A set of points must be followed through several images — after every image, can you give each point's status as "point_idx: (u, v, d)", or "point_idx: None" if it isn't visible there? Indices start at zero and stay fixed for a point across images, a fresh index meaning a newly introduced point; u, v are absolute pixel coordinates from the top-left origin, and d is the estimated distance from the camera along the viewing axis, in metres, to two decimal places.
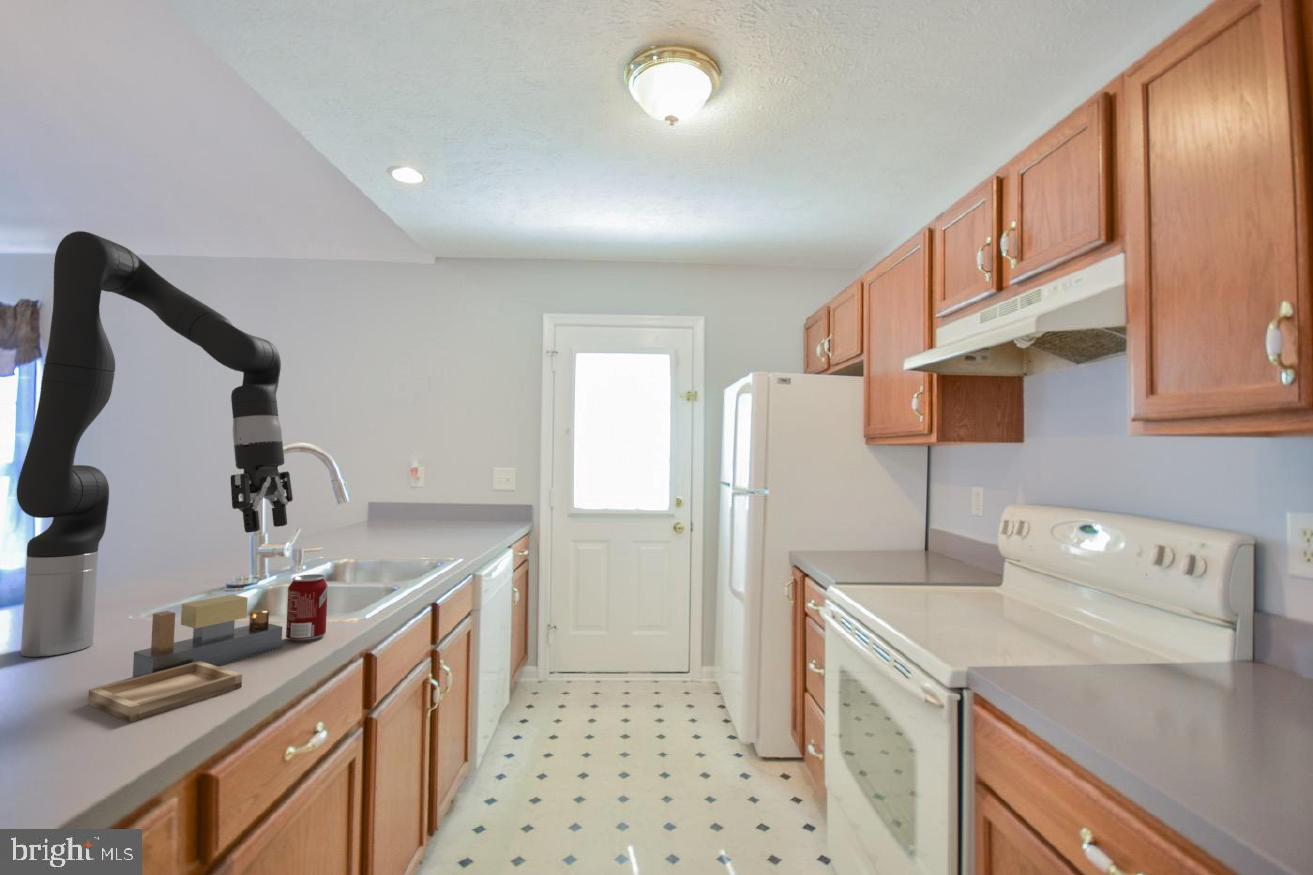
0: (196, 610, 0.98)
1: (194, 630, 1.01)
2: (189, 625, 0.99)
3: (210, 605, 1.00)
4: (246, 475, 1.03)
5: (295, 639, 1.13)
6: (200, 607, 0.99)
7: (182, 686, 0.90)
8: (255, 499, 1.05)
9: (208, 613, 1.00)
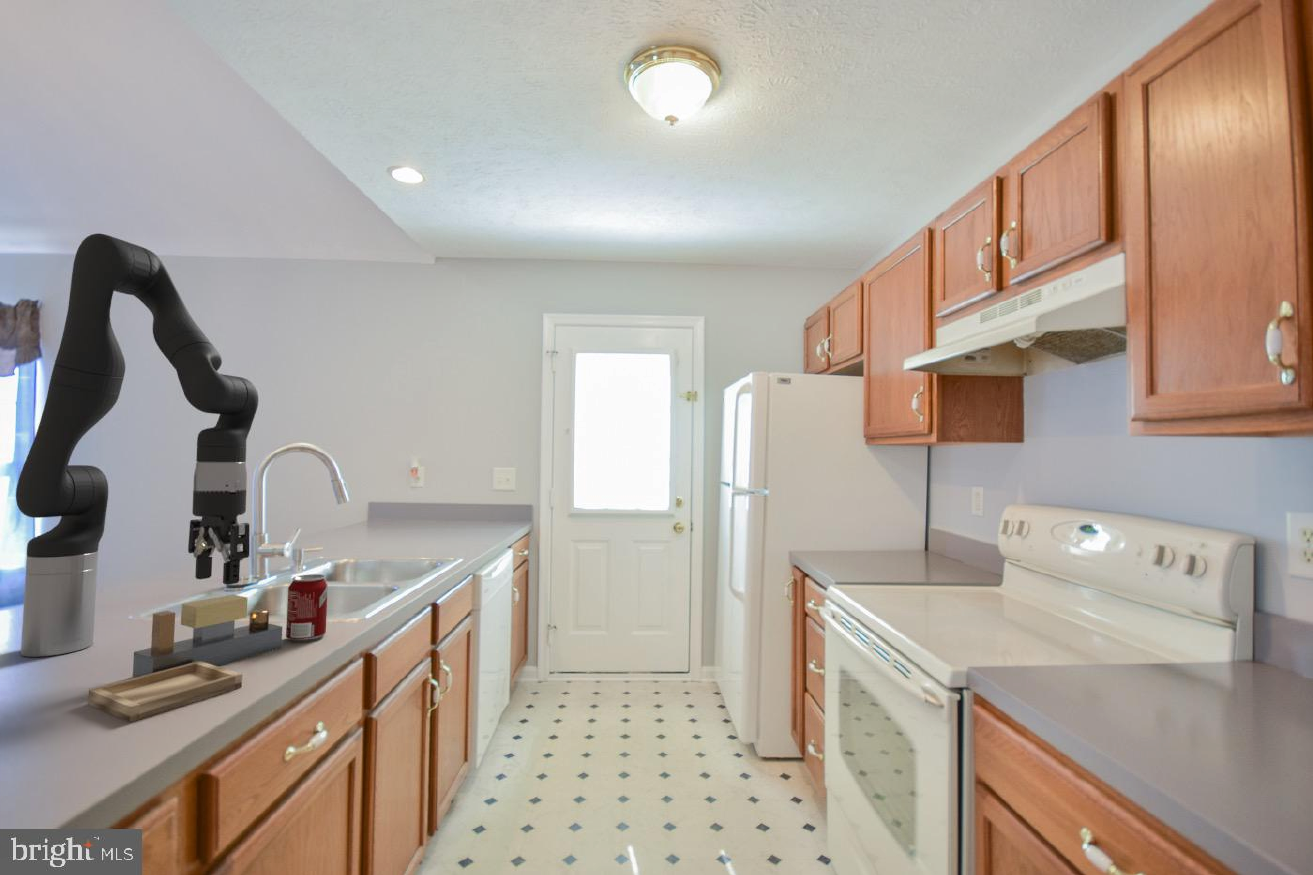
0: (196, 610, 0.98)
1: (194, 630, 1.01)
2: (189, 625, 0.99)
3: (210, 605, 1.00)
4: None
5: (295, 639, 1.13)
6: (200, 607, 0.99)
7: (182, 686, 0.90)
8: (240, 549, 1.02)
9: (208, 613, 1.00)
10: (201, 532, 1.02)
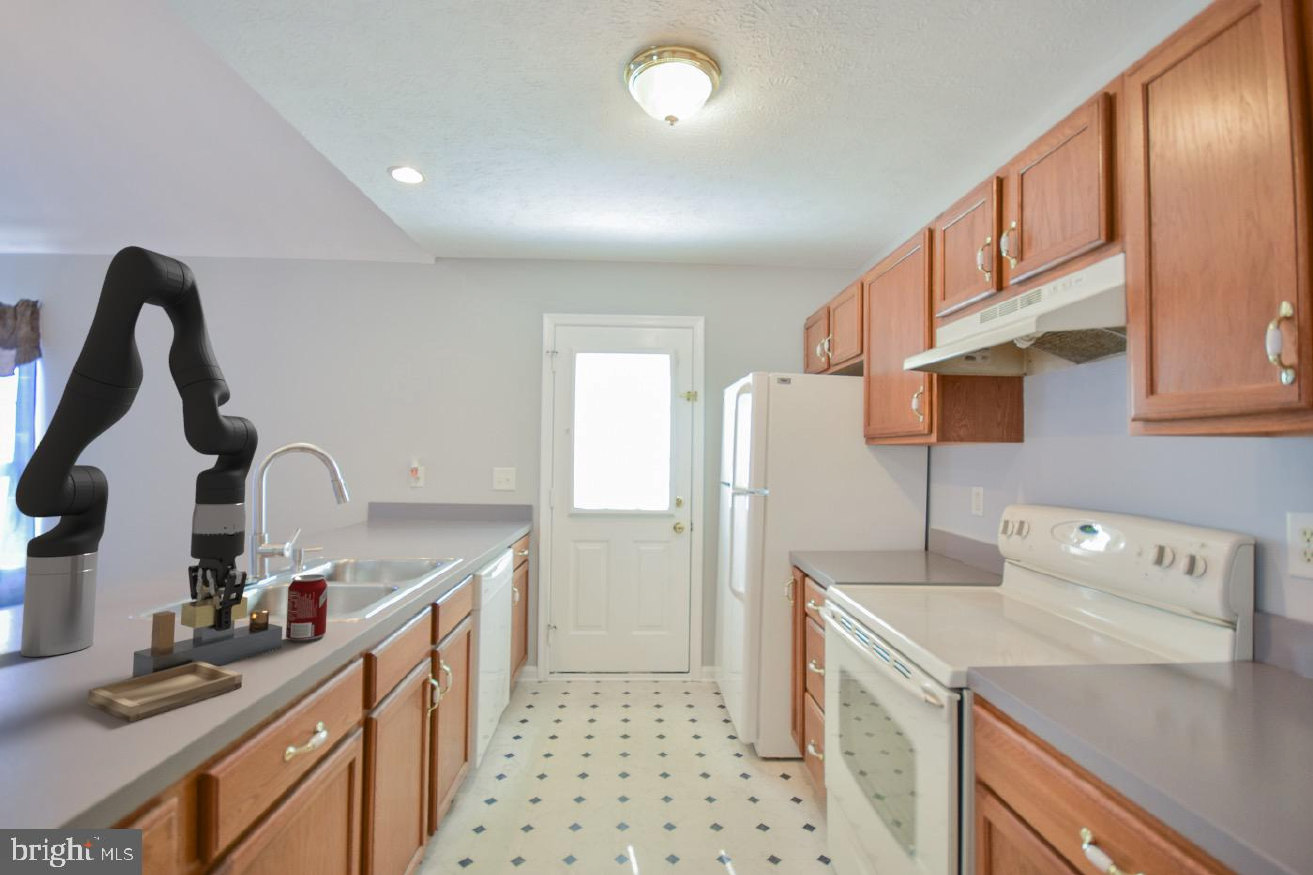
0: (196, 610, 0.98)
1: (194, 630, 1.01)
2: (189, 625, 0.99)
3: (210, 605, 1.00)
4: None
5: (295, 639, 1.13)
6: (200, 607, 0.99)
7: (182, 686, 0.90)
8: (233, 595, 1.03)
9: (208, 613, 1.00)
10: (199, 574, 1.02)
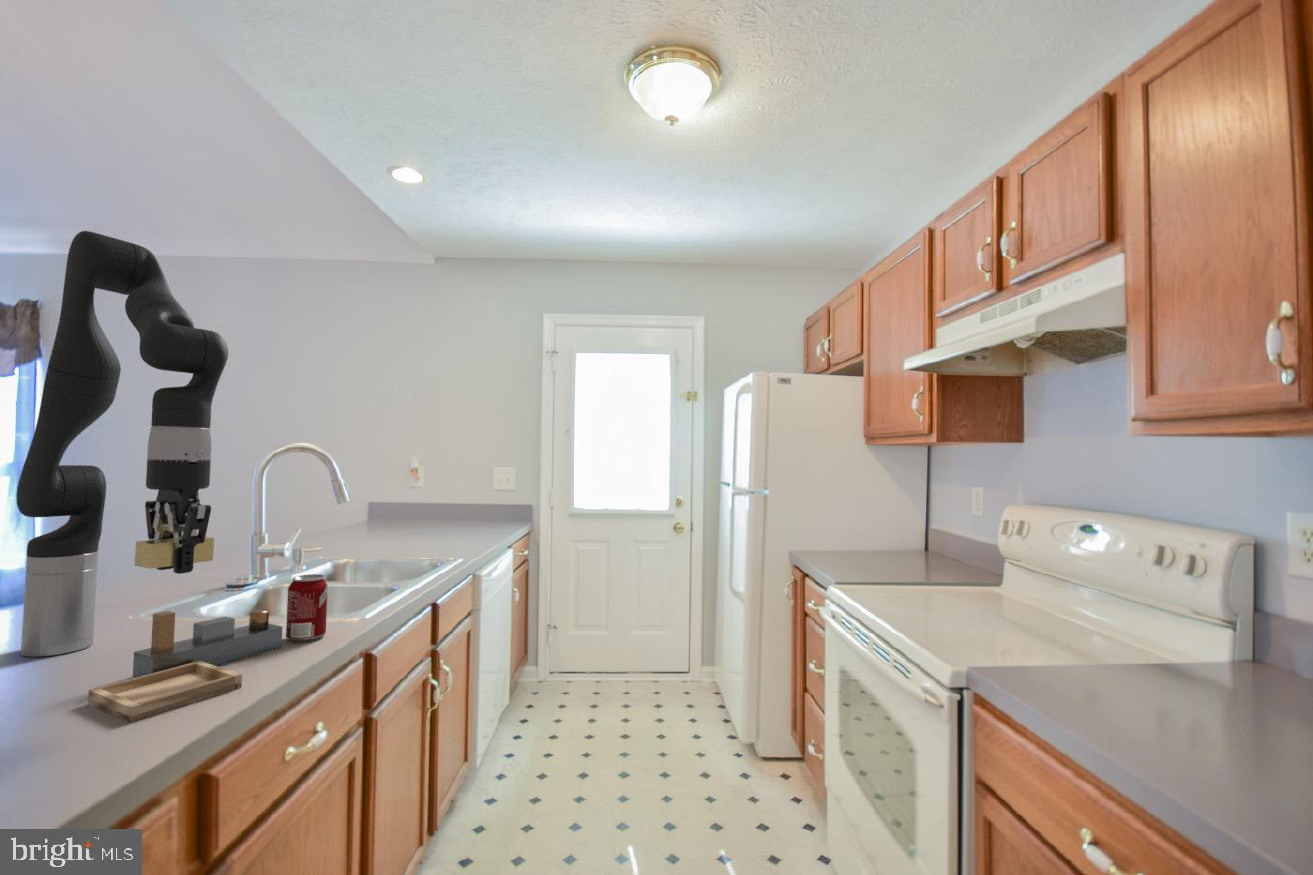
0: (151, 547, 0.85)
1: (194, 630, 1.01)
2: (144, 565, 0.85)
3: (169, 543, 0.86)
4: None
5: (295, 639, 1.13)
6: (156, 544, 0.85)
7: (182, 686, 0.90)
8: (196, 533, 0.89)
9: (166, 552, 0.86)
10: (157, 508, 0.88)
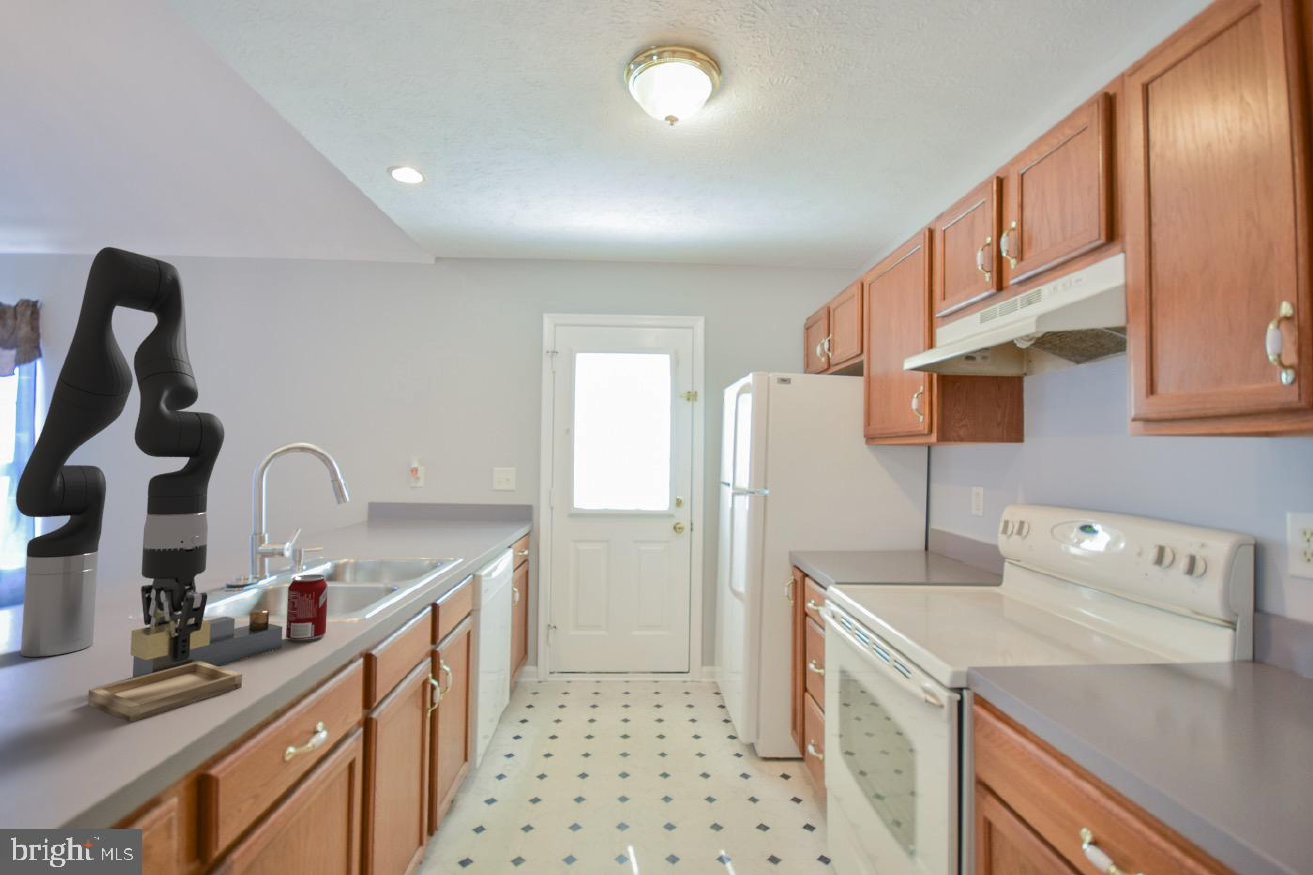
0: (147, 638, 0.84)
1: None
2: (139, 656, 0.85)
3: (165, 632, 0.86)
4: None
5: (295, 639, 1.13)
6: (152, 635, 0.85)
7: (182, 686, 0.90)
8: (192, 620, 0.88)
9: (162, 641, 0.86)
10: (153, 596, 0.88)
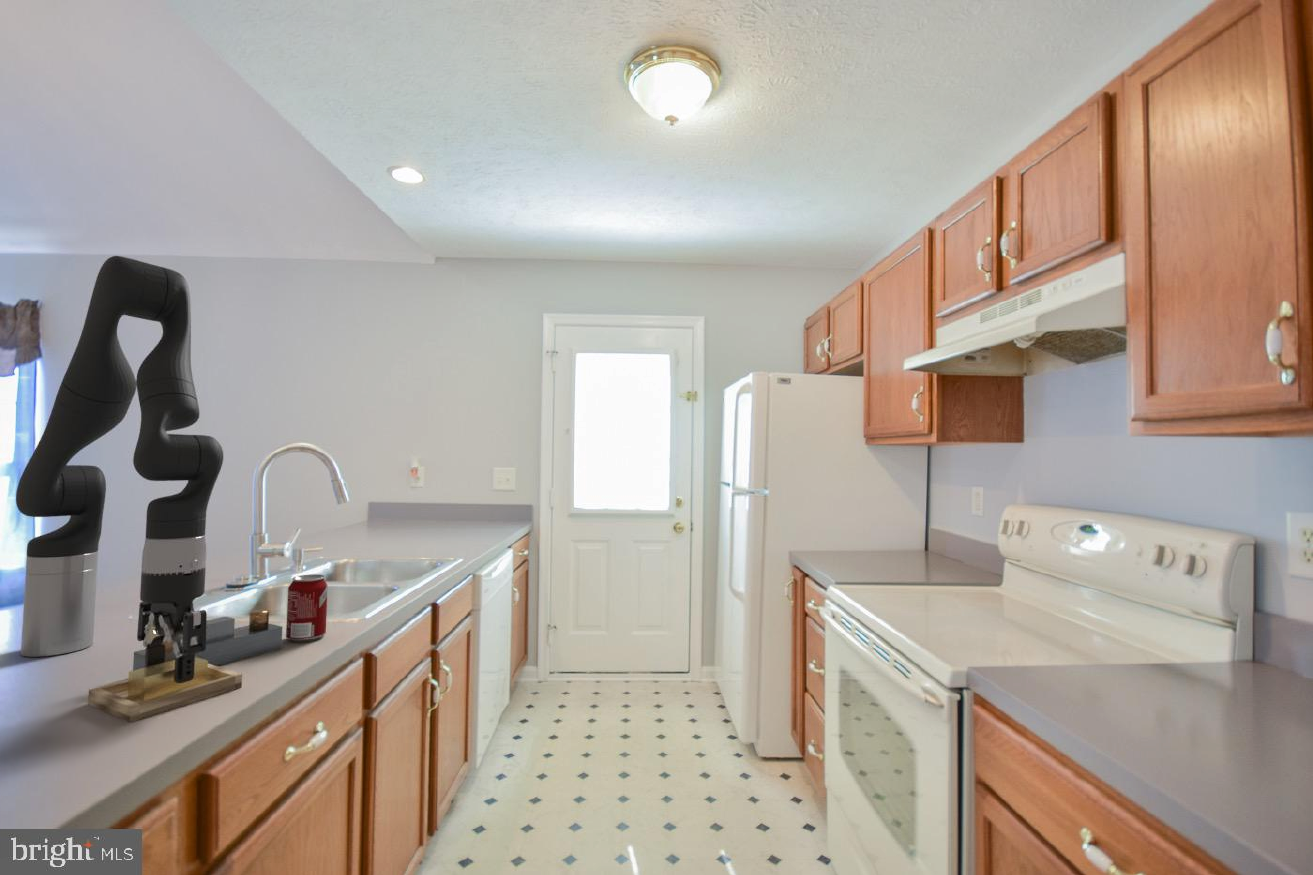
0: (144, 681, 0.84)
1: None
2: (137, 698, 0.85)
3: (162, 673, 0.86)
4: (205, 612, 0.87)
5: (295, 639, 1.13)
6: (149, 677, 0.84)
7: None
8: (195, 640, 0.88)
9: (159, 683, 0.86)
10: (151, 619, 0.88)
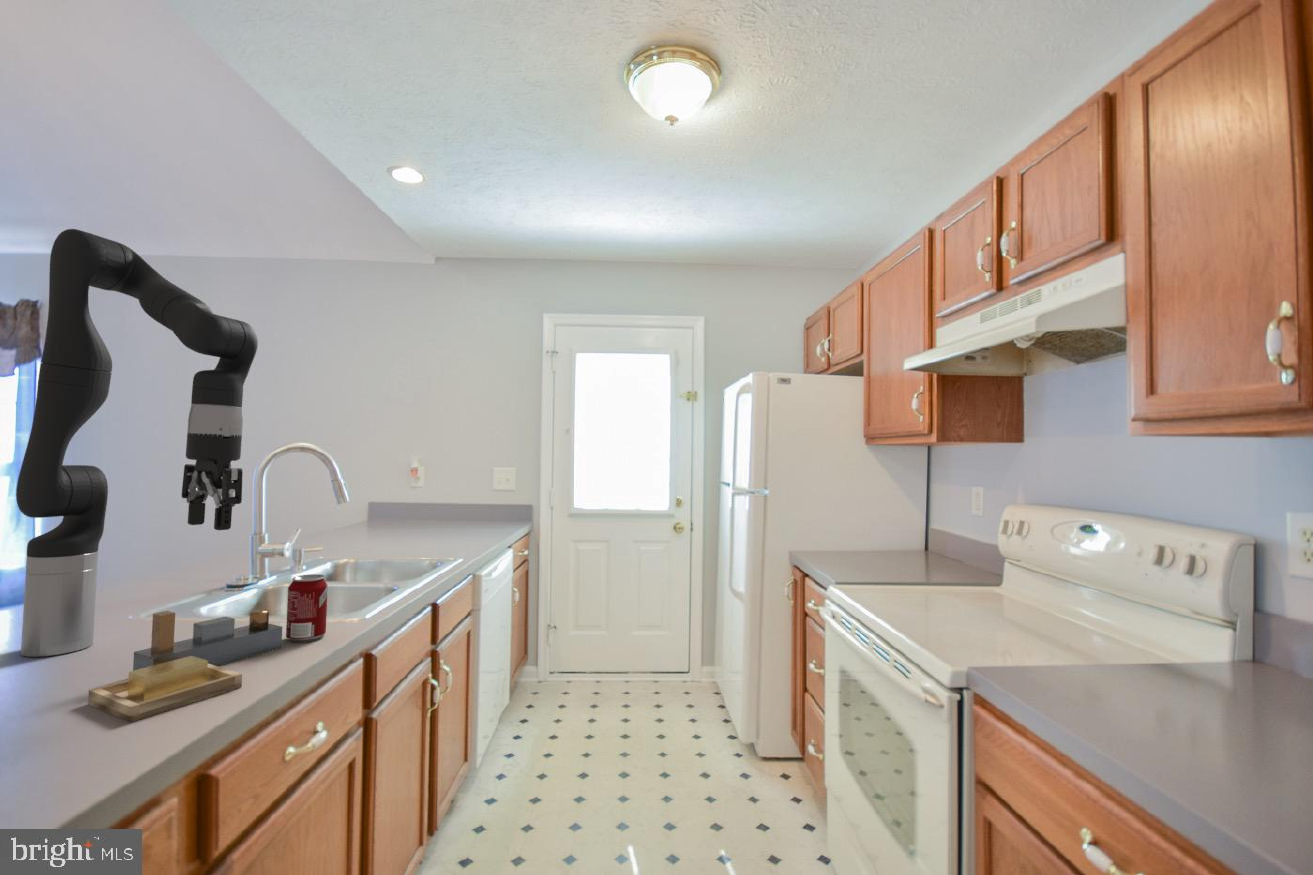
0: (144, 681, 0.84)
1: (194, 630, 1.01)
2: (137, 698, 0.85)
3: (162, 673, 0.86)
4: (241, 470, 0.99)
5: (295, 639, 1.13)
6: (149, 677, 0.84)
7: None
8: (232, 495, 1.00)
9: (159, 683, 0.86)
10: (194, 476, 1.00)
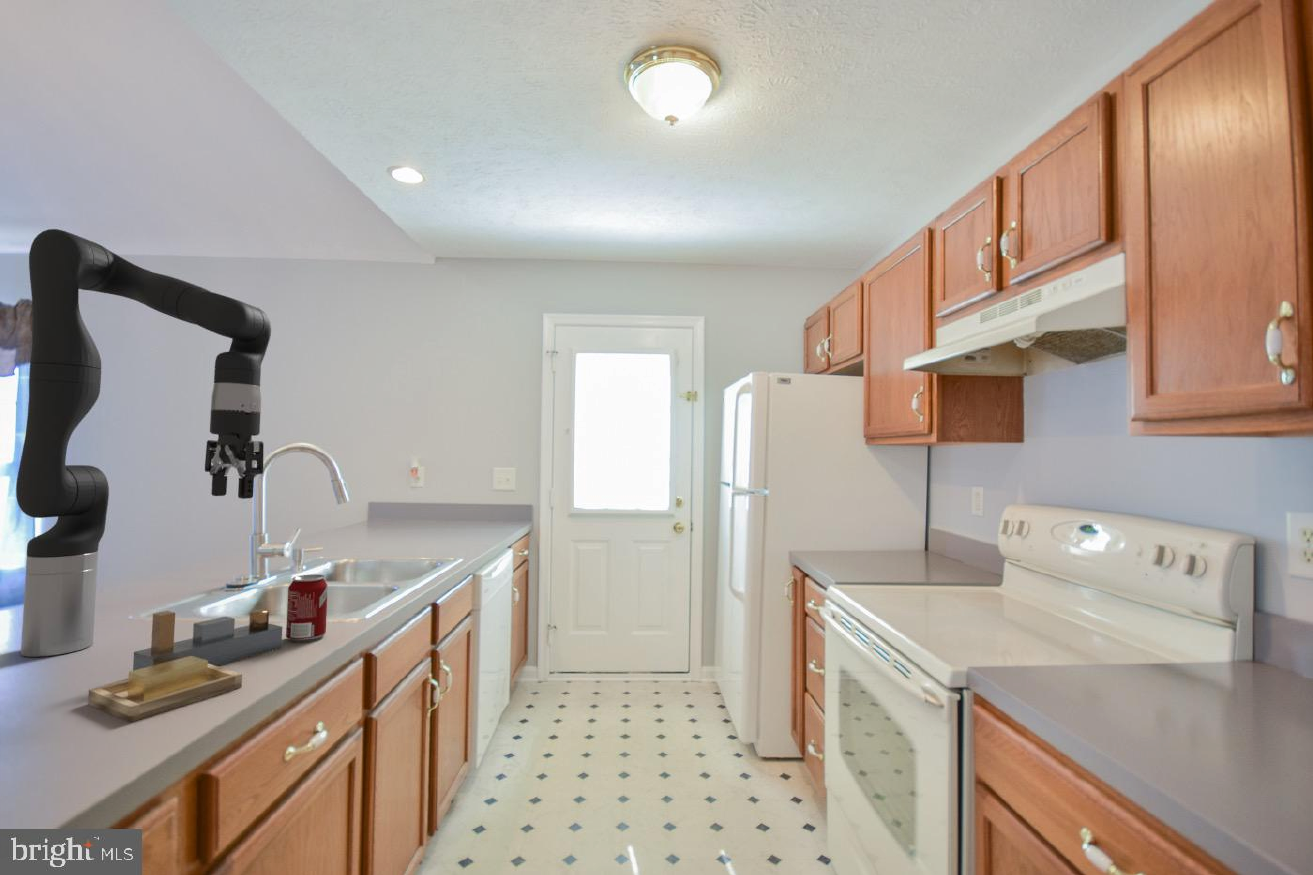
0: (144, 681, 0.84)
1: (194, 630, 1.01)
2: (137, 698, 0.85)
3: (162, 673, 0.86)
4: None
5: (295, 639, 1.13)
6: (149, 677, 0.84)
7: None
8: (254, 467, 1.08)
9: (159, 683, 0.86)
10: (218, 450, 1.08)
